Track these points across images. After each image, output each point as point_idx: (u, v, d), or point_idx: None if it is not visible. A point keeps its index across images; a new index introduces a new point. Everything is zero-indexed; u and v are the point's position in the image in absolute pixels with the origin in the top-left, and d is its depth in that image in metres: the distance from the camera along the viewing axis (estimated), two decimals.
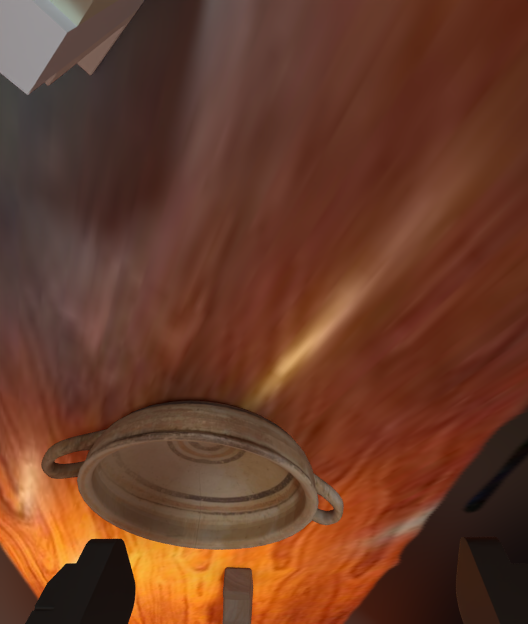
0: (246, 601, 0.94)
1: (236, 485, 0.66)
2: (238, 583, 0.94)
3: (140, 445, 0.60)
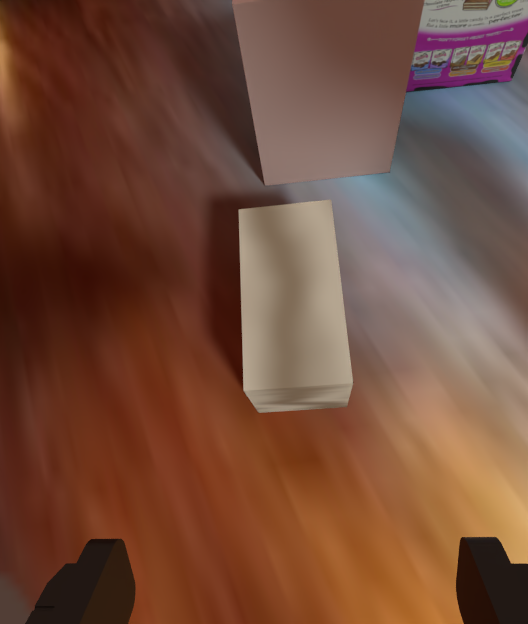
0: None
1: None
2: None
3: None
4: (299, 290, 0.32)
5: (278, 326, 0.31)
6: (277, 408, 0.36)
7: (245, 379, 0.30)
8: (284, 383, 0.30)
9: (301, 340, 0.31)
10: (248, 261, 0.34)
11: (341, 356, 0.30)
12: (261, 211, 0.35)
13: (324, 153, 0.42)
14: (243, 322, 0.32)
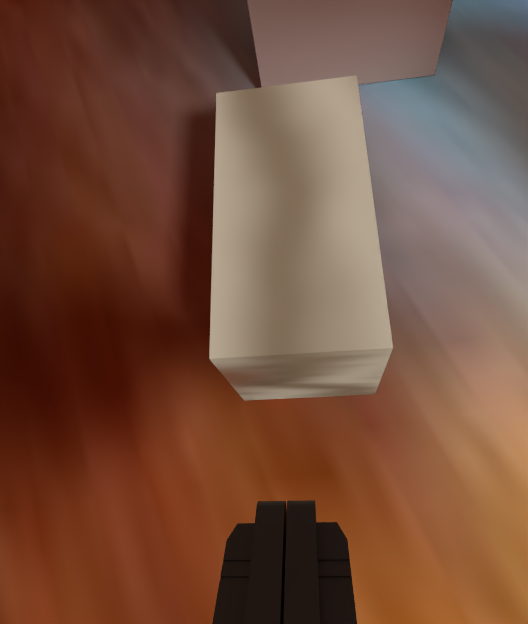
0: None
1: None
2: None
3: None
4: (304, 203, 0.20)
5: (270, 258, 0.19)
6: (270, 394, 0.24)
7: (213, 340, 0.18)
8: (277, 347, 0.18)
9: (307, 280, 0.19)
10: (227, 163, 0.22)
11: (372, 304, 0.18)
12: (250, 94, 0.23)
13: (345, 39, 0.30)
14: (214, 252, 0.20)
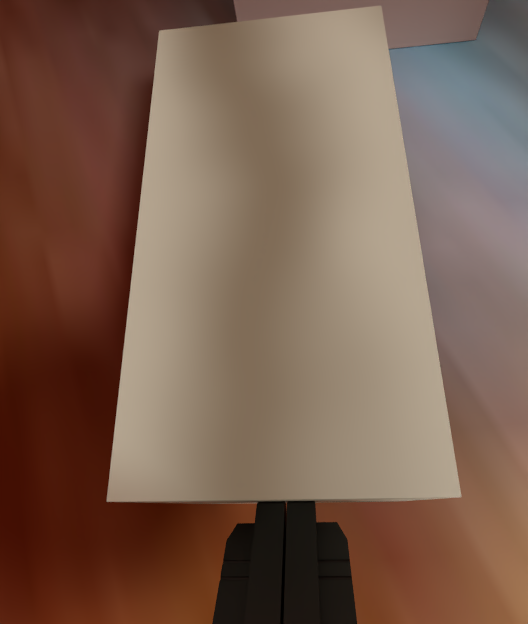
0: None
1: None
2: None
3: None
4: (294, 209, 0.12)
5: (231, 306, 0.11)
6: None
7: (117, 463, 0.10)
8: (235, 484, 0.09)
9: (295, 349, 0.10)
10: (168, 139, 0.13)
11: (418, 401, 0.10)
12: (212, 32, 0.15)
13: None
14: (134, 291, 0.11)
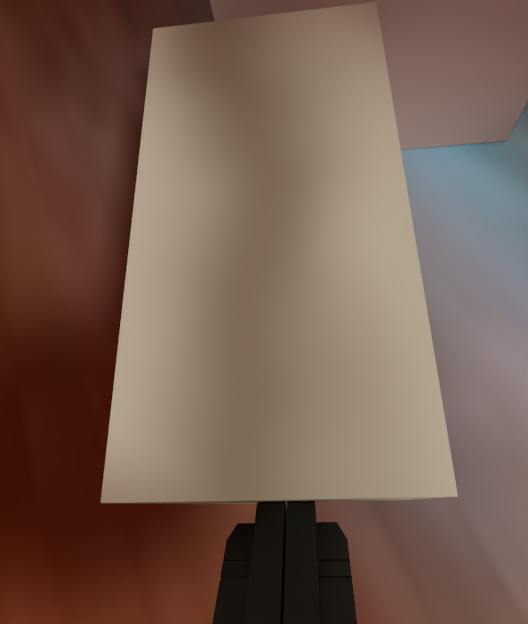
0: None
1: None
2: None
3: None
4: (289, 207, 0.12)
5: (226, 305, 0.11)
6: None
7: (111, 464, 0.10)
8: (230, 484, 0.09)
9: (290, 348, 0.10)
10: (162, 137, 0.13)
11: (413, 400, 0.09)
12: (206, 30, 0.14)
13: None
14: (128, 291, 0.11)
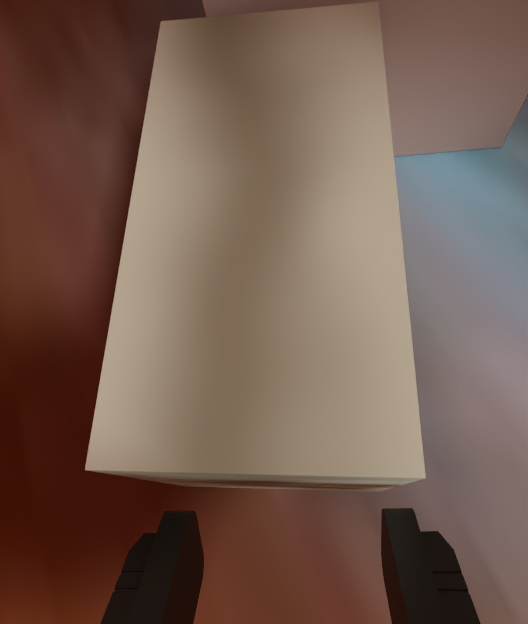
0: None
1: None
2: None
3: None
4: (281, 197, 0.12)
5: (215, 288, 0.11)
6: (220, 485, 0.16)
7: (97, 434, 0.10)
8: (209, 458, 0.10)
9: (274, 331, 0.11)
10: (163, 126, 0.13)
11: (389, 386, 0.10)
12: (212, 24, 0.15)
13: None
14: (123, 271, 0.12)
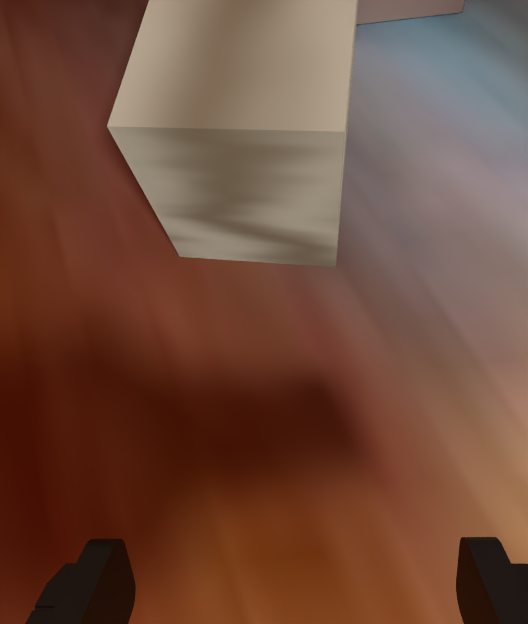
0: None
1: None
2: None
3: None
4: None
5: (213, 27, 0.15)
6: (208, 244, 0.20)
7: (117, 107, 0.14)
8: (195, 120, 0.14)
9: (252, 51, 0.14)
10: None
11: (330, 82, 0.14)
12: None
13: None
14: (146, 17, 0.16)
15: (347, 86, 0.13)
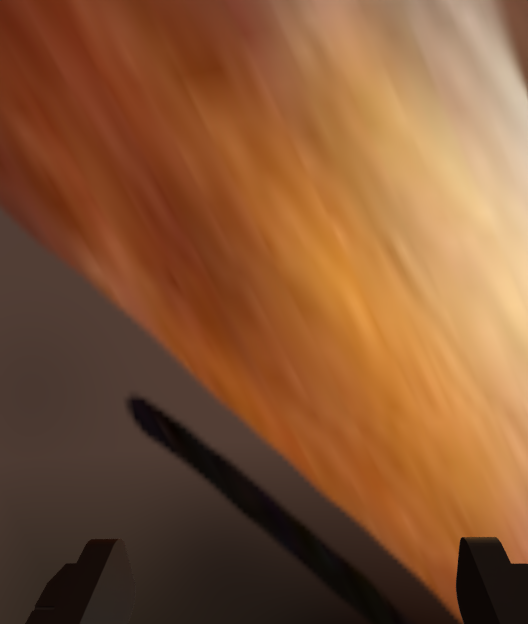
0: None
1: None
2: None
3: None
4: None
5: None
6: None
7: None
8: None
9: None
10: None
11: None
12: None
13: None
14: None
15: None
